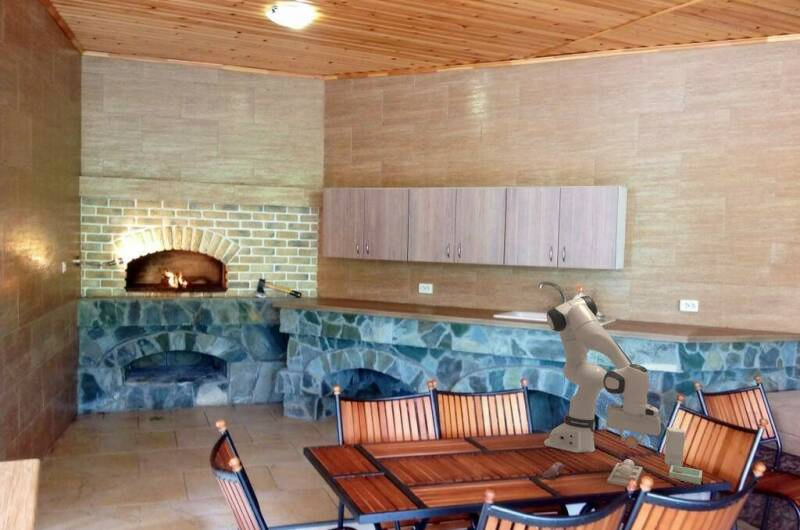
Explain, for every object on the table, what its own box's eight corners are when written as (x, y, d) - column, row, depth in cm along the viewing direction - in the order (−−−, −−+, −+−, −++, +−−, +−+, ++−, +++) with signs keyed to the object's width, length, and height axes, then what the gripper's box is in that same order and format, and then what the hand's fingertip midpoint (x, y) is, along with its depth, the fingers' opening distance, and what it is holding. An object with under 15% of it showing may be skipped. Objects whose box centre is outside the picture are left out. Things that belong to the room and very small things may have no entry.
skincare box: (682, 469, 319) (685, 432, 319) (665, 467, 320) (669, 430, 320) (679, 463, 327) (682, 428, 327) (663, 461, 328) (666, 426, 328)
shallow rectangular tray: (606, 485, 287) (607, 479, 287) (616, 467, 313) (617, 462, 313) (634, 490, 283) (634, 484, 283) (642, 472, 309) (642, 467, 309)
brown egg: (624, 447, 289) (625, 436, 289) (625, 445, 294) (626, 433, 293) (636, 450, 288) (637, 438, 287) (637, 447, 292) (638, 435, 292)
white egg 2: (618, 476, 297) (619, 464, 296) (620, 473, 301) (621, 462, 301) (630, 478, 295) (631, 467, 295) (632, 475, 299) (633, 464, 299)
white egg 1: (621, 470, 305) (622, 459, 305) (623, 468, 309) (624, 457, 309) (633, 473, 303) (634, 461, 303) (634, 470, 307) (635, 459, 307)
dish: (668, 479, 302) (669, 472, 302) (670, 472, 313) (671, 464, 313) (700, 485, 297) (701, 477, 297) (701, 477, 308) (702, 470, 308)
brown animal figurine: (550, 484, 288) (559, 469, 286) (540, 476, 290) (549, 462, 288) (558, 478, 296) (567, 464, 294) (549, 471, 298) (558, 457, 296)
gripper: (605, 404, 291) (602, 439, 292) (661, 413, 283) (658, 449, 284) (608, 401, 297) (605, 436, 298) (662, 410, 289) (659, 445, 289)
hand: (631, 442), depth 291 cm, fingers closed on brown egg, 5 cm apart
